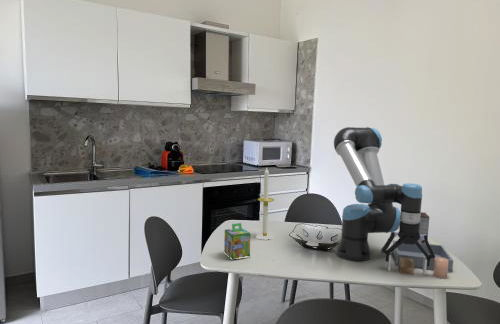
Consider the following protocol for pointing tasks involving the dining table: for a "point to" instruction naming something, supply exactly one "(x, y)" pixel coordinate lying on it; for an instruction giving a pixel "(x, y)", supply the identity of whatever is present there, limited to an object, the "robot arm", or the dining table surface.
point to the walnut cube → (406, 266)
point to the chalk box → (237, 242)
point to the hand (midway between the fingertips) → (406, 271)
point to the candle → (265, 203)
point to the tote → (421, 254)
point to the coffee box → (423, 225)
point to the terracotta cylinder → (440, 267)
